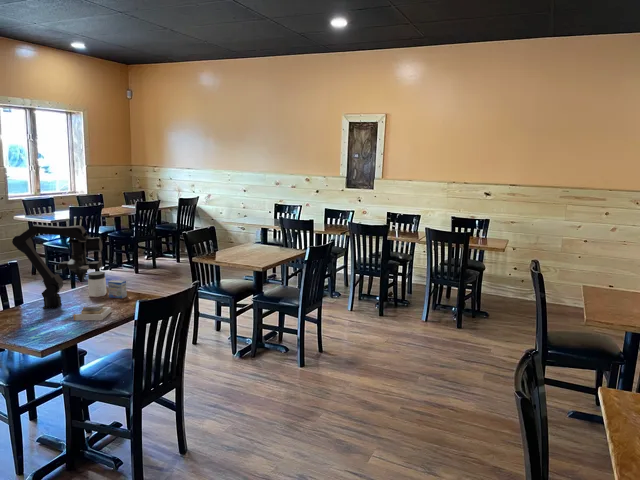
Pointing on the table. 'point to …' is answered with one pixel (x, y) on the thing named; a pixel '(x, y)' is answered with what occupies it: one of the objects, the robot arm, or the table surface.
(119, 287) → the medicine box
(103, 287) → the jar
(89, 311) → the grey beige block
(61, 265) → the robot arm
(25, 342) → the table surface
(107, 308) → the frame
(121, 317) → the table surface
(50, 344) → the table surface
